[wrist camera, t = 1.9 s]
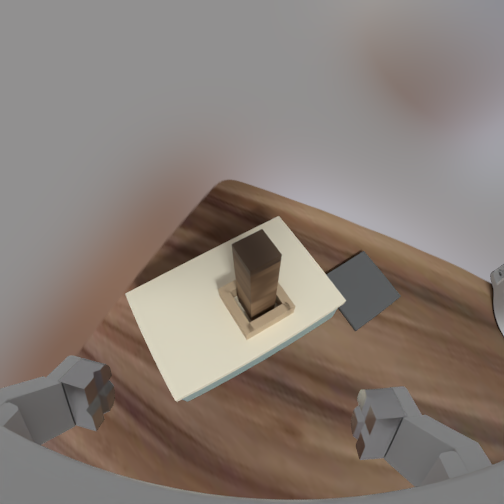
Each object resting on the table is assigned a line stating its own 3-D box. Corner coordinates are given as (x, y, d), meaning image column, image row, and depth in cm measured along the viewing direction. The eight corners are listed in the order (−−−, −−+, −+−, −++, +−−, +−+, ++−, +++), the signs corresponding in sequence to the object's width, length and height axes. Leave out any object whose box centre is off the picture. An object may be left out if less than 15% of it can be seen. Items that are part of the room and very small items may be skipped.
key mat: (362, 252, 47) (363, 251, 47) (399, 297, 43) (400, 296, 42) (317, 281, 45) (318, 279, 44) (355, 331, 41) (356, 330, 40)
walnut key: (260, 288, 38) (262, 228, 27) (274, 308, 36) (281, 254, 26) (238, 300, 37) (231, 244, 27) (251, 321, 35) (250, 271, 25)
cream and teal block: (276, 240, 48) (279, 206, 41) (334, 317, 42) (350, 293, 35) (140, 311, 42) (119, 286, 35) (186, 404, 36) (170, 398, 29)
